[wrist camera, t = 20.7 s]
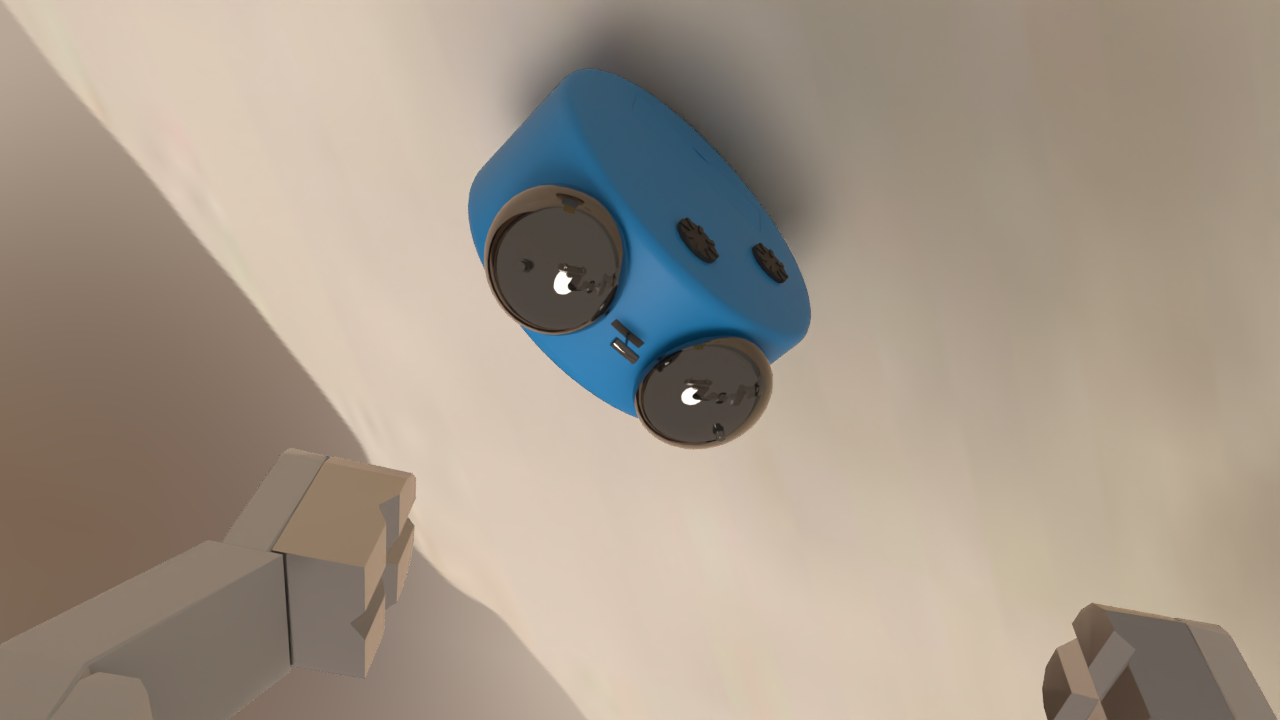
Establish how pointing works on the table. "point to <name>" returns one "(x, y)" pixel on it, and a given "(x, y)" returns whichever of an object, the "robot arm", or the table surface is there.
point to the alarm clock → (639, 260)
